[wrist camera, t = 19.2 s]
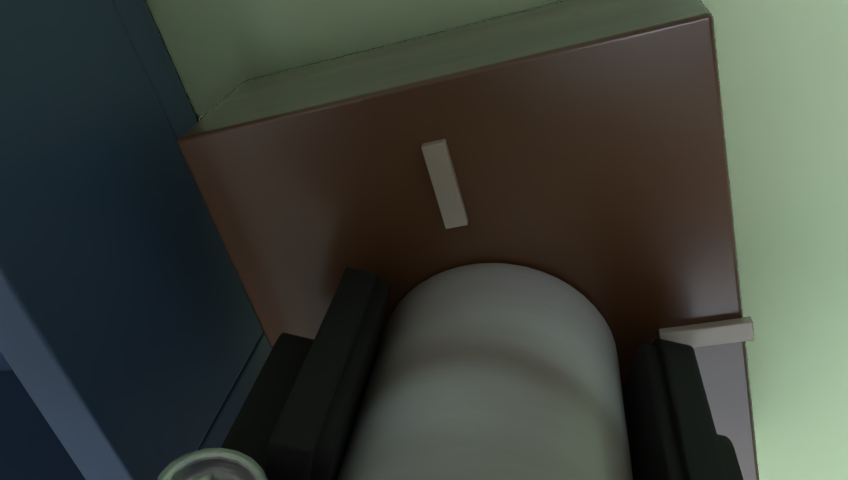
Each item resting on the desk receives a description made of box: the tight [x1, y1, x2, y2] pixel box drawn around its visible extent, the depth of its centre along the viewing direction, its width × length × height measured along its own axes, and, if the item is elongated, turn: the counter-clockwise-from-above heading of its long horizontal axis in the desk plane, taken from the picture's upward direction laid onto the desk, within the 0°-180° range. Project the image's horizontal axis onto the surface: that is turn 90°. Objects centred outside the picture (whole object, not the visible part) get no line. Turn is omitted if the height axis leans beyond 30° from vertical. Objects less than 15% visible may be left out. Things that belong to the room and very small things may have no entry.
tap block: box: [177, 0, 759, 480], centre depth 14 cm, size 10×8×3 cm
